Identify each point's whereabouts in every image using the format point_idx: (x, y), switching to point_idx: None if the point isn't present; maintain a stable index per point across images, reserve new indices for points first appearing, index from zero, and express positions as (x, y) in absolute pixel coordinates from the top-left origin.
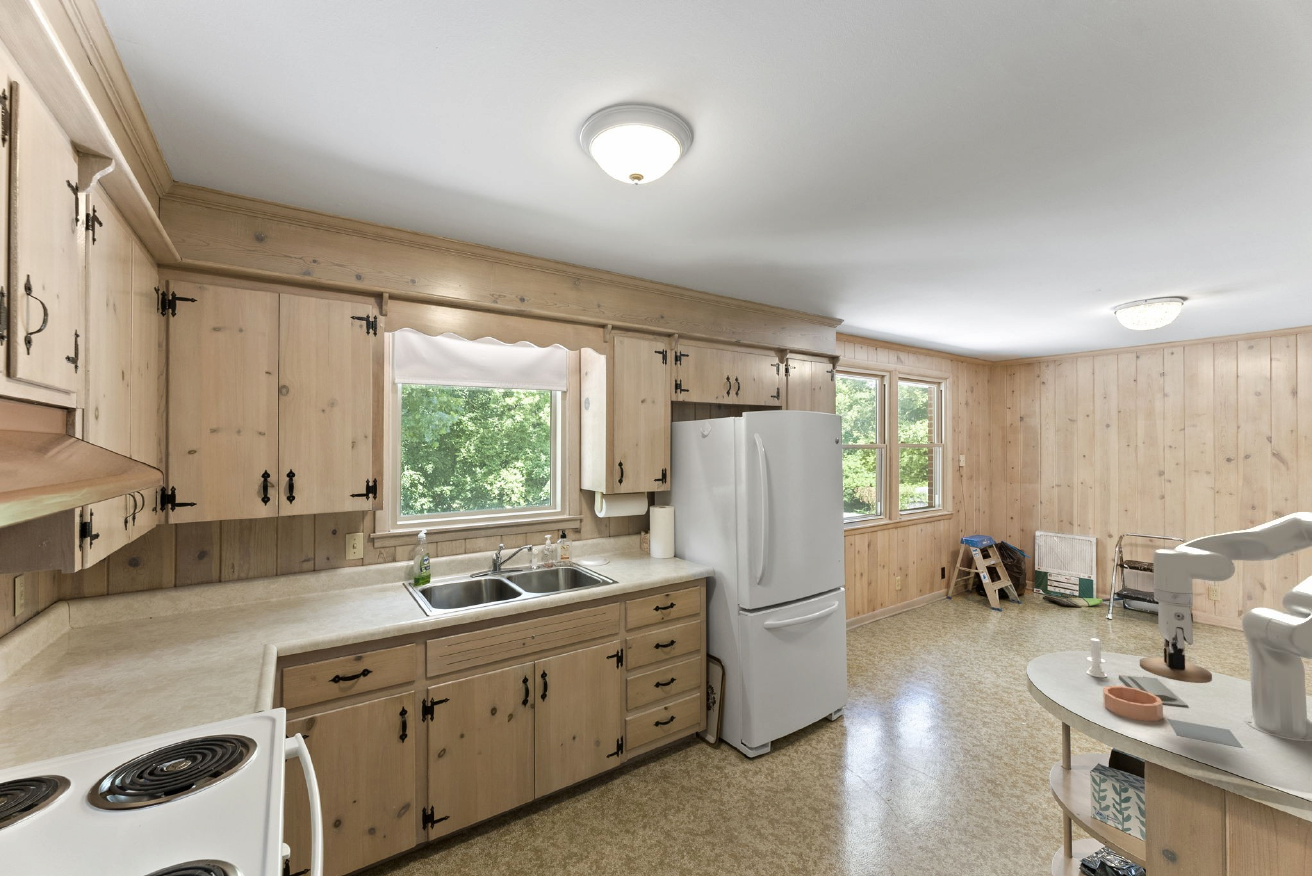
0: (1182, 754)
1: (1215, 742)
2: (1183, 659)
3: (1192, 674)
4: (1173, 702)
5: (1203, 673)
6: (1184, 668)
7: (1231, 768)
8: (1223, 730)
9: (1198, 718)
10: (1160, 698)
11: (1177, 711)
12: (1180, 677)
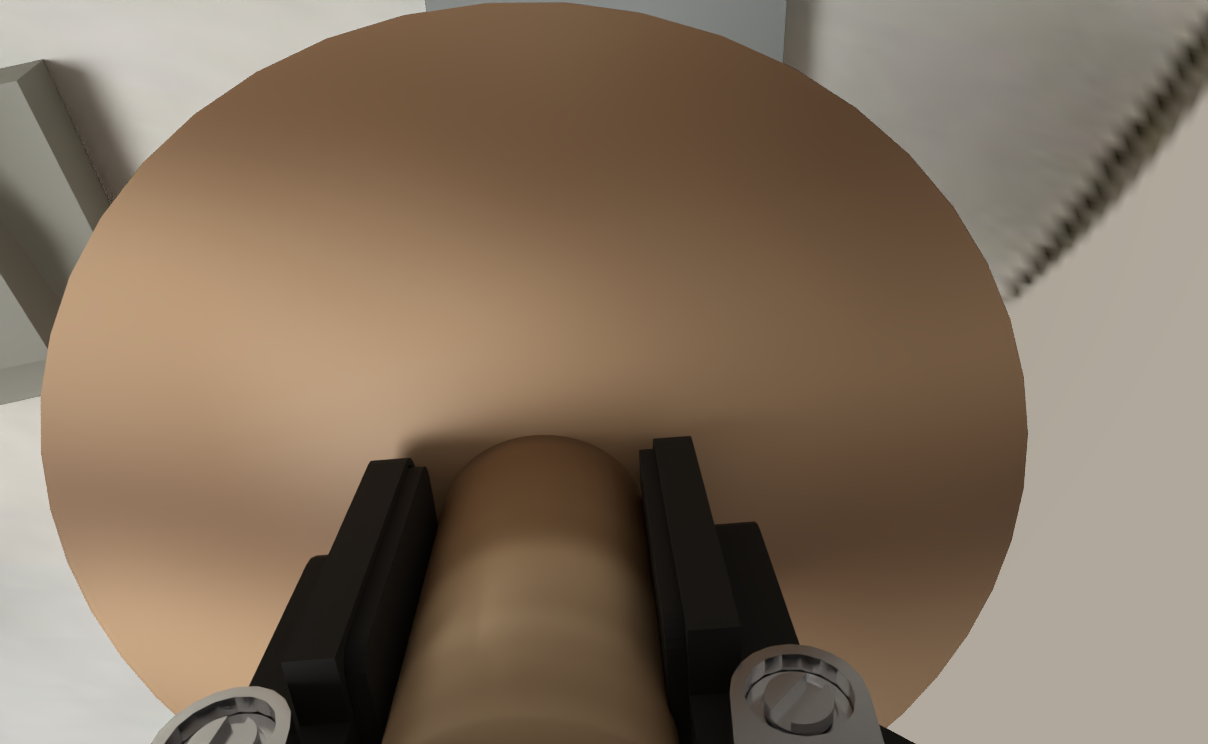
0: (1013, 267)
1: (782, 27)
2: (718, 568)
3: (822, 345)
4: (36, 189)
5: (634, 153)
6: (688, 449)
7: (1137, 7)
8: None
9: (196, 27)
10: (39, 281)
11: (140, 164)
12: (1008, 506)
